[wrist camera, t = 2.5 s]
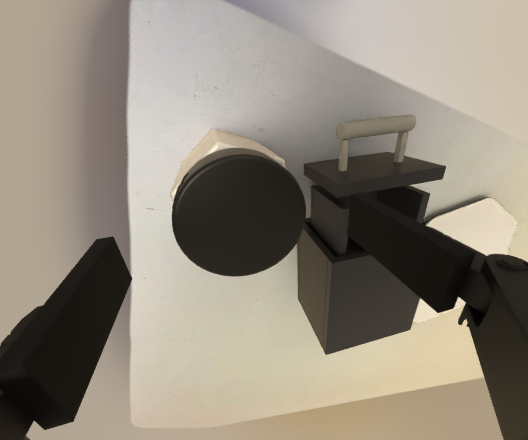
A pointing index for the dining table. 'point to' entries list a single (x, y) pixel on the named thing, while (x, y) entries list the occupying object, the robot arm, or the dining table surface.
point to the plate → (473, 236)
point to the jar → (235, 206)
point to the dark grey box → (350, 295)
